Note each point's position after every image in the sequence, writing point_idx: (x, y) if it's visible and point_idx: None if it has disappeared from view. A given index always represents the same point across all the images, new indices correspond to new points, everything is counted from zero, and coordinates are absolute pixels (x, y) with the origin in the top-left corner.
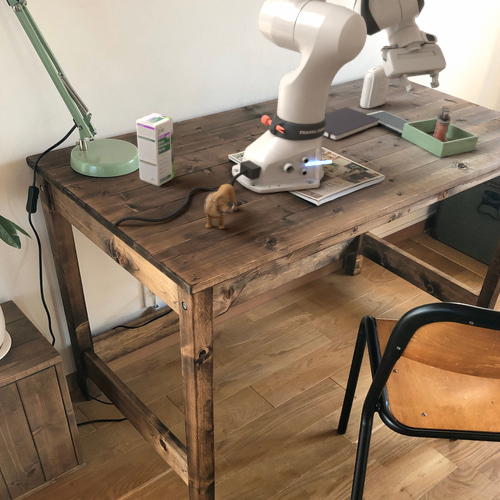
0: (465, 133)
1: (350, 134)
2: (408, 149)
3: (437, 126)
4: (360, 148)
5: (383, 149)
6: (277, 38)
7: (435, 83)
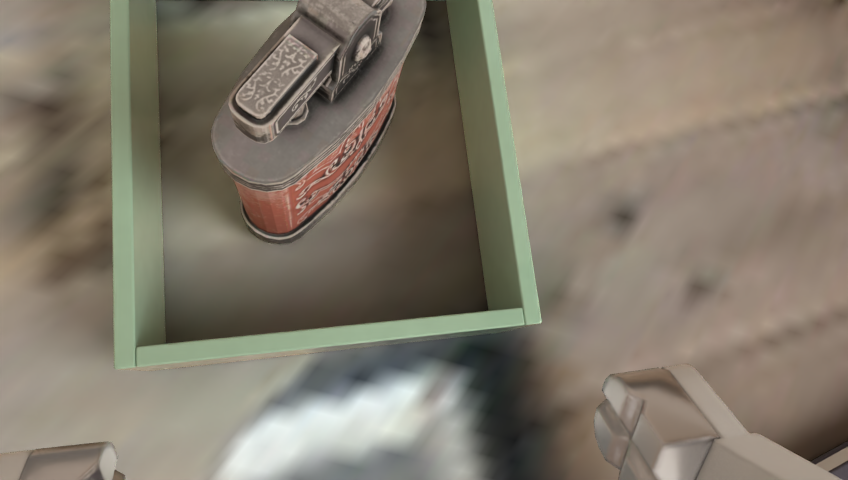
0: (135, 28)
1: (836, 449)
2: (574, 143)
3: (389, 85)
4: (841, 246)
5: (721, 192)
6: None
7: (95, 464)
